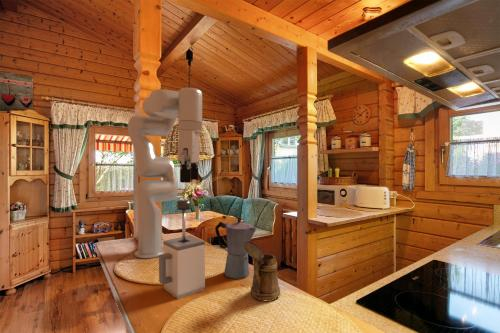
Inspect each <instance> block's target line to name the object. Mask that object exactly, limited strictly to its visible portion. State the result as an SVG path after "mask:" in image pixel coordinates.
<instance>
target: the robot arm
mask: <svg viewBox="0 0 500 333" xmlns="http://www.w3.org/2000/svg"><path fill="white" fill-rule="evenodd" d="M141 109H142V111H143V113H144V114H146V115H142V114H141V115H140V114H139V115H133V116H130V118H129V119H128V124H127V130H128V135H129V138H130V141H131V143H132V146H133V149H134V154H135V155H134V158H135V164H136V171H137V172H136V173H137V175H138V176H139V178H141V179H142V178H143V179H151V180H144V181H143V180H142V181H140V182H138V183H137V184H136V186H135V198H136V202H137V214H138V215H137V217H138V218H137V219H138V220H137V221H138V222H137V223H138V226H137V227H138V249H137V250H135V252H134V257H135V258H140V259H152V258H159V255H162V254H163V228H162V227H163V221H162V219H163V218H162V216H163V215H162V211H161V208H160V207H159V206H158V205H157V203H159V202H161V203H162V202H171V201H174V200H176V198H177V197H178V192H179V190H178V180H177V176H176V174H177V173H176V167H175V164H174V160H173V159H171V157H168V156H157V155H156V148H155V145H154V144H153V142H152V141H151V140H150V139H149V138H148V137H147V136H152V137H153V136H154V137H156V136H157V137H166V136H169V134H170V133H171V131H172V129H173V127H174V125H175V123H176V121H178V122H177V132H178V133H179V134H178V141H177V156H176V157H177V158H176V159H177V162H178V164H180V165H179V182H180V183H183V184H184V183H185V184H187V183H191V182H192V180H193V181H198V180H199V161H200V154H201V153H200V150H201V149H200V148H201V147H200V146H201V145H200V134H202V133H203V92H202V90H200V89H199V88H195V87H183V88H180V89H179V91H176V90H170V89H164V88H163V89H160V88H159V89H155V90H154V89H153V90H151V92H150V93H149V96H148V97H146V98H145V99H144V100H143V101H142V104H141ZM158 178H159V179H158ZM160 178H161V179H160Z"/></svg>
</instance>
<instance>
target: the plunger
mask: <svg viewBox="0 0 500 333" xmlns="http://www.w3.org/2000/svg"><path fill="white" fill-rule="evenodd" d="M176 210H177V211H181V224H182V225H181V227H182V229H181V231H182V232H181V233H182V234H181V237H182V243H184V242H186V236H187V235H186V234H187V233H186V231H187V230H186V211H187V210H191V200H190V199H179V200H177V201H176Z"/></svg>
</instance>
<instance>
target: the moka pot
mask: <svg viewBox="0 0 500 333" xmlns="http://www.w3.org/2000/svg"><path fill="white" fill-rule="evenodd" d="M236 219H237V221H235V222H230V223H228V222H223V221H219V222H218V224H217V225H215V228H214V229H215V234H216V238H217V241H218V245H219V246H218V247H219V248H221V249H223V250H224V249H227V255H226V260H225V265H224V272H223V274H224V275H225V277H228V278H230V279H233V280H234V279H235V280H236V279H237V280H240V279H241V280H242V279H245V278H247V277H248V276H249V275H250V268H249V254H248V253H247V252H246V251H245V248H244V244H245V243H246V242H248V241H250V242H251V240H252V239H253V236H254V235H255V232H256V231H257V230H258V228H257V227H256V226H254V225H252V224H250V223H246V222H242V219H243V218H241V217H237V218H236ZM219 228H222V229H225V230H226V241H227V245H223V243H222V238H221V235H220V230H219Z"/></svg>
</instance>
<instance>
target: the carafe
mask: <svg viewBox="0 0 500 333" xmlns="http://www.w3.org/2000/svg"><path fill="white" fill-rule="evenodd" d="M205 243H206V241H205V240H202V239H199V238H197V237H194V236H192V235H186V242H184V243H182V236H181V237H177V238H171V239H167V240H162V247H163V254H162V255H159V256H158V282H159V284H161V285H163V289H164V290H165V291H166V292H168V293H169V294H171V295H172V296H173V297H174V298H176V300H180V299H182V298H186V297H188V296H191V295H194V294H196V293H199V292H202V291H205V290H206V255H205V254H206V250H205V248H206V246H205V245H206V244H205Z"/></svg>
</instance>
